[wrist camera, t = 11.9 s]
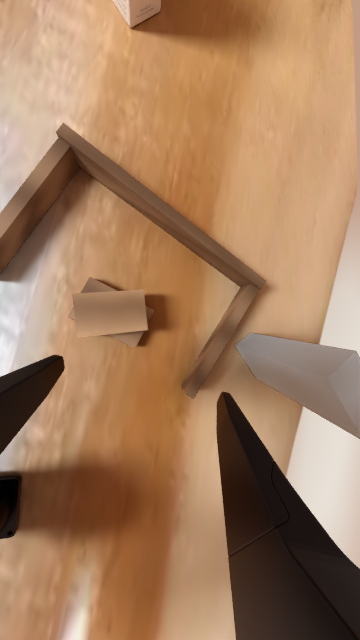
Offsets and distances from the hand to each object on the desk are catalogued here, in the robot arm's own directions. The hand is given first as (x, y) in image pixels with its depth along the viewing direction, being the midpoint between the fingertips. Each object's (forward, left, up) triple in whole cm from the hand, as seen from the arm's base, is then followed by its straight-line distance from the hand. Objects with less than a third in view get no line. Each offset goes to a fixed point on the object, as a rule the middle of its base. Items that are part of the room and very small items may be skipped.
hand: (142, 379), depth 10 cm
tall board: (-1, -15, -12) cm, 20 cm away
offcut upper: (+3, +4, -11) cm, 12 cm away
